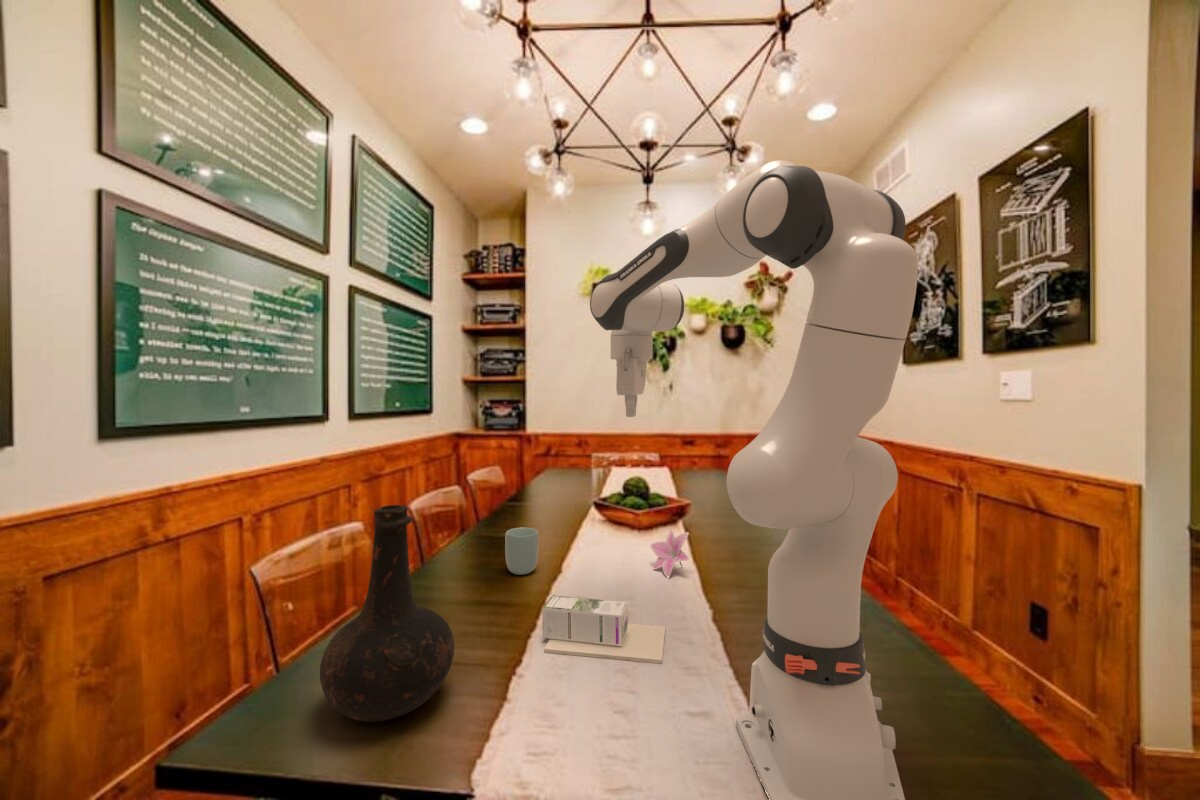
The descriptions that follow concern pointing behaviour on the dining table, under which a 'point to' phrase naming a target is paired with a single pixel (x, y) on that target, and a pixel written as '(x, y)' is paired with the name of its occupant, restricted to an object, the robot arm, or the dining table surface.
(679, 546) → the lily
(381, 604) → the glass bottle
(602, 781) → the dining table surface
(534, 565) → the cup
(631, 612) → the dining table surface
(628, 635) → the mat
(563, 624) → the syrup box
